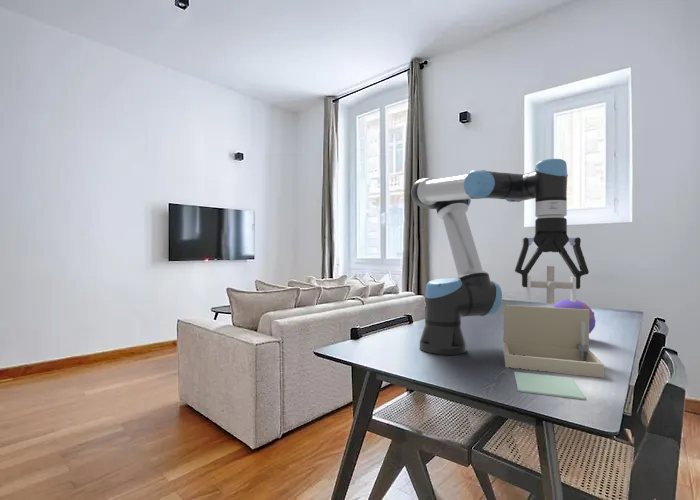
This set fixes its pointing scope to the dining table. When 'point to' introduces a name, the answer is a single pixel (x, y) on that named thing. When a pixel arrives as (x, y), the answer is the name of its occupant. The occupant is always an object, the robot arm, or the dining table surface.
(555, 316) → the case
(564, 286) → the pipe connector
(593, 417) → the dining table surface
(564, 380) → the mat
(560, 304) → the decorative ball
